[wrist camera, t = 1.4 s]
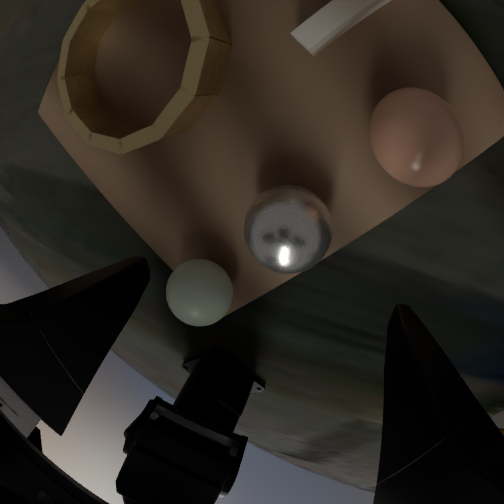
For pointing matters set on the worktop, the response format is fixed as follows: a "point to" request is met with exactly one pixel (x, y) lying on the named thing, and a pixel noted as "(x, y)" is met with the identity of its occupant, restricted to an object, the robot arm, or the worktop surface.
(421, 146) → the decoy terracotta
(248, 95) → the board
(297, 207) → the steel ball
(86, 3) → the race ring
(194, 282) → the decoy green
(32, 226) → the worktop surface
